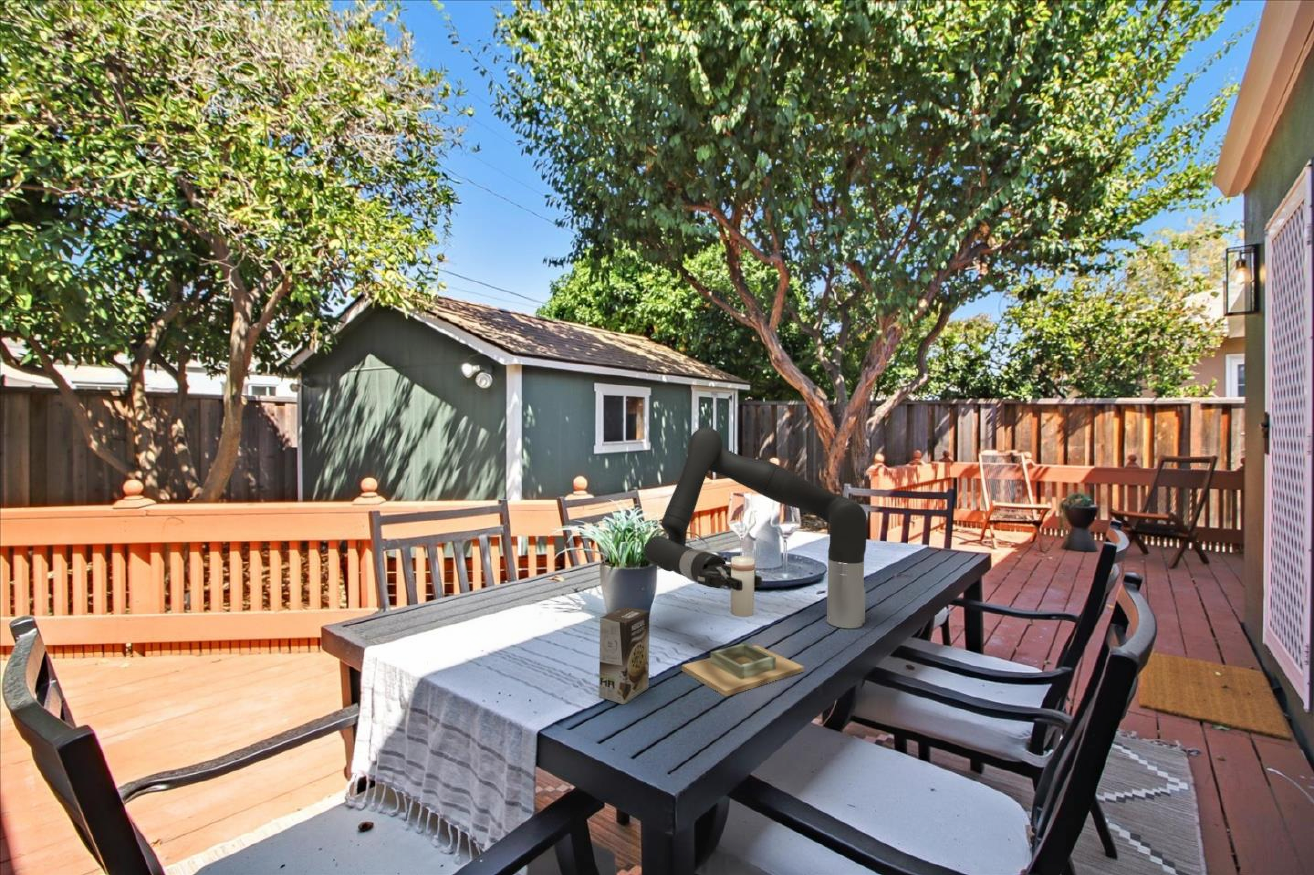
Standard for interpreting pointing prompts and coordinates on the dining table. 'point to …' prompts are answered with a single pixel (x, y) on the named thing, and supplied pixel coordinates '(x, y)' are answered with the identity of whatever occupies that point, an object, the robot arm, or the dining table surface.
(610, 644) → the coffee box
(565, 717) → the dining table surface
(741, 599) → the cream lidded bottle
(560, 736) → the dining table surface
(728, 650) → the end holder
